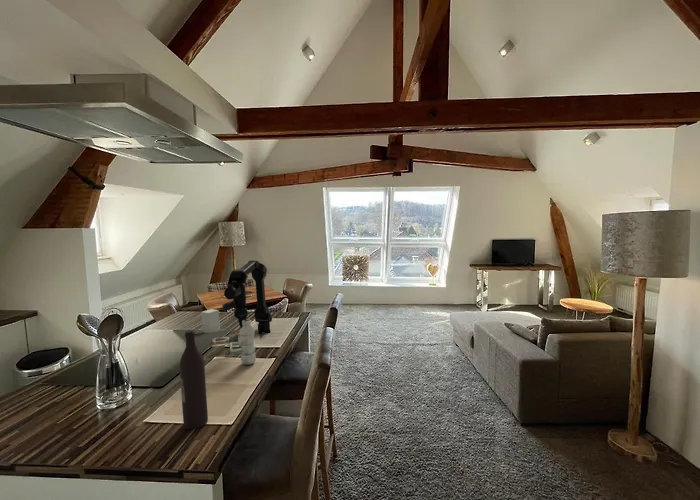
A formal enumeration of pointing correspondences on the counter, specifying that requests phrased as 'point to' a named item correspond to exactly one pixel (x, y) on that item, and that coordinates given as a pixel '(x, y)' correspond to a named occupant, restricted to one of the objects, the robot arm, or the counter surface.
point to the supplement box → (210, 321)
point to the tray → (237, 349)
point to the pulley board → (225, 340)
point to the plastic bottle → (247, 343)
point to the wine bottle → (193, 385)
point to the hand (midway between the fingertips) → (241, 325)
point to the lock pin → (239, 341)
